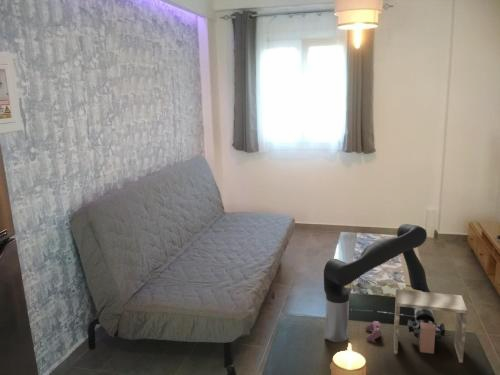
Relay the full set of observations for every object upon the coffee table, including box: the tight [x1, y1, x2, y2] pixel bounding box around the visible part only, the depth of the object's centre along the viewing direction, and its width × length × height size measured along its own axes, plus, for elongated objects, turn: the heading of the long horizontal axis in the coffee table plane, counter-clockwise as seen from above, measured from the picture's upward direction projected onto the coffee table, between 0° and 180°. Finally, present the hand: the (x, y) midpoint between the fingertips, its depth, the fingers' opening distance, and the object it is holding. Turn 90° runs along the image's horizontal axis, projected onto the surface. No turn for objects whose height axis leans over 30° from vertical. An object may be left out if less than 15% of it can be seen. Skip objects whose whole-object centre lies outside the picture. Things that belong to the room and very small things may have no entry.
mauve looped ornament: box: [365, 320, 382, 342], centre depth 188 cm, size 10×5×7 cm, turn 169°
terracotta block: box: [418, 322, 436, 354], centre depth 177 cm, size 5×5×10 cm
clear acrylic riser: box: [393, 288, 468, 364], centre depth 176 cm, size 24×13×21 cm, turn 74°
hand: (427, 336), depth 175 cm, fingers open, 7 cm apart
